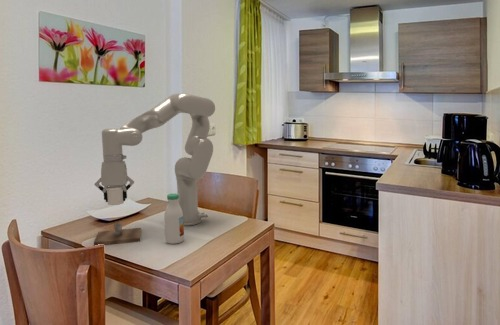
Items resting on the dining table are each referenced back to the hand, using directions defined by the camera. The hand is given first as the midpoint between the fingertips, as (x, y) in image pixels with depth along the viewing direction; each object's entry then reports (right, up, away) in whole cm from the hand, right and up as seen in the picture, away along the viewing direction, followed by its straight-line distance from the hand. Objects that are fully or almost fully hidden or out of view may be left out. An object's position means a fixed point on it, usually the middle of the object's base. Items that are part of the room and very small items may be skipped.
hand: (115, 200), depth 148 cm
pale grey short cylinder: (0, -1, 0) cm, 1 cm away
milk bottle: (+25, -17, -1) cm, 30 cm away
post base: (0, -17, +3) cm, 17 cm away
